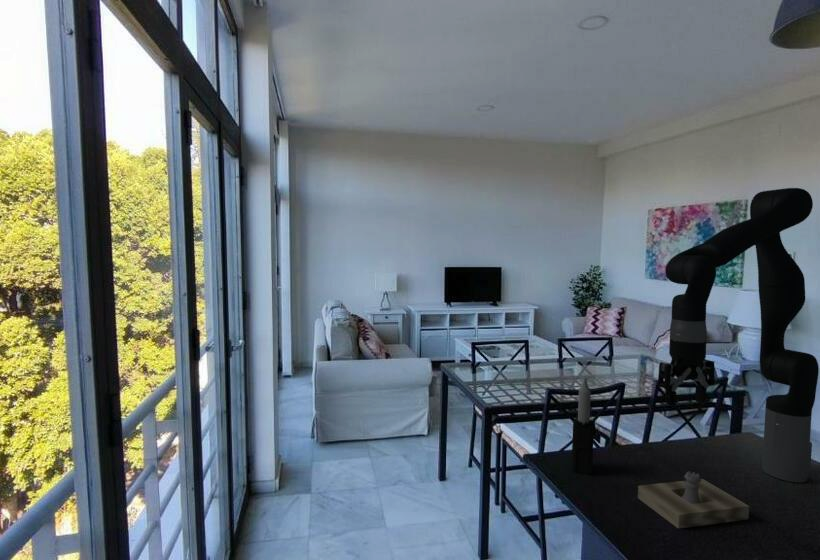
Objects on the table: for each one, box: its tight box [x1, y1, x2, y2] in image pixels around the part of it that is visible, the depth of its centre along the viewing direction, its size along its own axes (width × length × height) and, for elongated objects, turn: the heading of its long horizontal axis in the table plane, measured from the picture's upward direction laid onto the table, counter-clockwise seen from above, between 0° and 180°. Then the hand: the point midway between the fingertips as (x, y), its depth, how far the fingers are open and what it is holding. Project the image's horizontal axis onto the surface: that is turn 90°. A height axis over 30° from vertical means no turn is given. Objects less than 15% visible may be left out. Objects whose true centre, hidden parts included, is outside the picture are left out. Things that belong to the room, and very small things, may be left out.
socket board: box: [637, 478, 750, 529], centre depth 101 cm, size 18×12×3 cm, turn 102°
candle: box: [570, 377, 595, 476], centre depth 118 cm, size 5×5×25 cm
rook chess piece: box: [681, 471, 702, 504], centre depth 101 cm, size 4×4×8 cm
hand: (685, 403), depth 108 cm, fingers open, 8 cm apart
